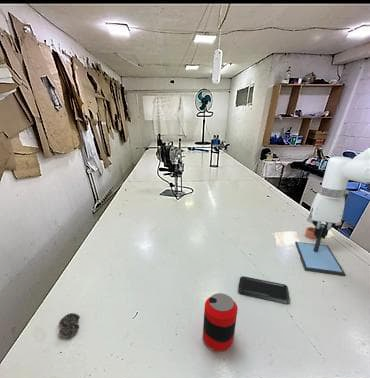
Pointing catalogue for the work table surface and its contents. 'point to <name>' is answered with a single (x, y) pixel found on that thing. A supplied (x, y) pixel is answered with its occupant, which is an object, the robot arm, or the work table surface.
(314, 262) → the tablet
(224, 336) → the soda can
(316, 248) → the stylus
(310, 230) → the pen cup
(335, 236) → the work table surface
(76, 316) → the corroded twin loop
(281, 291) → the phone
